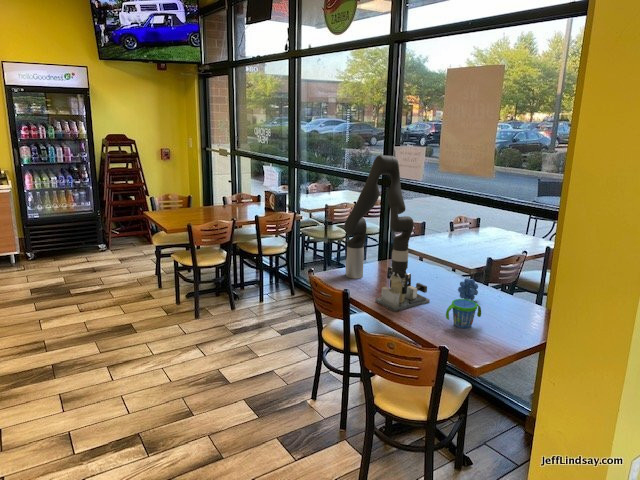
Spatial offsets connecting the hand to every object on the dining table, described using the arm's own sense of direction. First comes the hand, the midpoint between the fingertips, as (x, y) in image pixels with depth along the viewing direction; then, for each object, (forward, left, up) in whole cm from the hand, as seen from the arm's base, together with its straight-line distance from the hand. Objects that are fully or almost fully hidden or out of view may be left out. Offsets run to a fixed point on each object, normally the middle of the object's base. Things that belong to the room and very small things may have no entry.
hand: (397, 291), depth 229 cm
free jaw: (0, +11, -4) cm, 11 cm away
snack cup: (+33, +8, -6) cm, 35 cm away
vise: (0, +3, -6) cm, 7 cm away
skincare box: (0, 0, -5) cm, 5 cm away
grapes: (+16, +31, -6) cm, 36 cm away
